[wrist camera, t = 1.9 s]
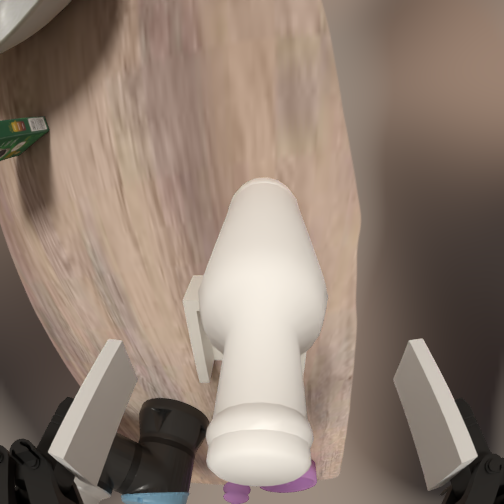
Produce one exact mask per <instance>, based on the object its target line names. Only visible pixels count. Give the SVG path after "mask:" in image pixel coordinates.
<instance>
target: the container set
mask: <svg viewBox="0 0 504 504" xmlns="http://www.w3.org/2000/svg"><path fill="white" fill-rule="evenodd" d="M316 483H317V478H316V467H315V462H314V461H313V460H311V466H310V468H309V470H308V471H307V472H306V473H305V474H304V475H302V476H301V477H299V478H298V479H296V480H295V481H292V482H289V483H285V484H281V485H275V486H260V488H262V489H263V490H266V491H270V492H279V493H286V492H287V493H288V492H297V491H302V490H306V489H309V488H311V487H313V486H315V485H316ZM223 490H224V492H225V493H226V494H224V496H223V497H224V499H225V500H226V501H228V502H230V503H232V504H240V503H244V502H247V501H248V500H249V496H248V494H249V493H250V487H249V486H246V485H239V484H235V483H231V482H228V483H226V484H225V485H224V488H223Z"/></svg>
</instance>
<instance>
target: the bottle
mask: <svg viewBox="0 0 504 504" xmlns="http://www.w3.org/2000/svg"><path fill="white" fill-rule="evenodd" d="M198 297H199V310H200V316H201V321H202V324H203V328H204V331H205V333H206V335H207V337H208V338H209V340H210V342H211V344H212V345H213V346H214V347H215V348H216V349H217V350H218V351H220V352H221V353H222V354H223V359H222V365H221V371H220V377H219V383H218V390H217V396H216V402H215V408H214V414H213V420H212V421H211V423H210V424H209V426H208V427H207V431H206V440H207V444H208V452H207V459H206V462H207V466H208V468H209V469H210V470H211V471H212V472H213V473H214V474H216V475H217V476H218V477H219V478H221V479H223V480H226V481H228V482H231V483H235V484H239V485H246V486H275V485H281V484H285V483H289V482H292V481H295V480H296V479H298V478H299V477H301V476H302V475H304V474H305V473H306V472H307V471H308V470H309V468H310V466H311V453H310V447H311V445H312V442H313V440H314V438H313V431H312V428H311V426H310V423H309V422H308V420H307V410H306V401H305V391H304V382H303V373H302V365H301V355H302V354H303V353H305V352H306V351H307V350H309V349H310V348H311V346H312V345H313V343H314V342H315V341H316V339H317V338H318V336H319V334H320V331H321V328H322V325H323V321H324V316H325V311H326V306H327V301H328V294H327V289H326V285H325V281H324V277H323V274H322V271H321V268H320V265H319V262H318V260H317V257H316V254H315V251H314V248H313V245H312V243H311V240H310V237H309V234H308V232H307V229H306V226H305V223H304V221H303V218H302V215H301V213H300V210H299V206H298V203H297V200H296V198H295V196H294V195H293V193H292V192H291V191H290V189H289V188H288V187H287V186H286V185H285V184H283V183H282V182H280V181H278V180H277V179H272V178H268V177H262V178H254V179H252V180H250V181H248V182H246V183H244V184H243V185H242V186H241V187H240V188H239V189H238V190H237V192H236V193H235V194H234V196H233V198H232V201H231V203H230V206H229V208H228V213H227V216H226V218H225V221H224V223H223V226H222V229H221V231H220V234H219V236H218V239H217V241H216V244H215V247H214V249H213V252H212V255H211V257H210V260H209V263H208V265H207V268H206V271H205V273H204V276H203V279H202V282H201V284H200V287H199V290H198Z"/></svg>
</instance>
